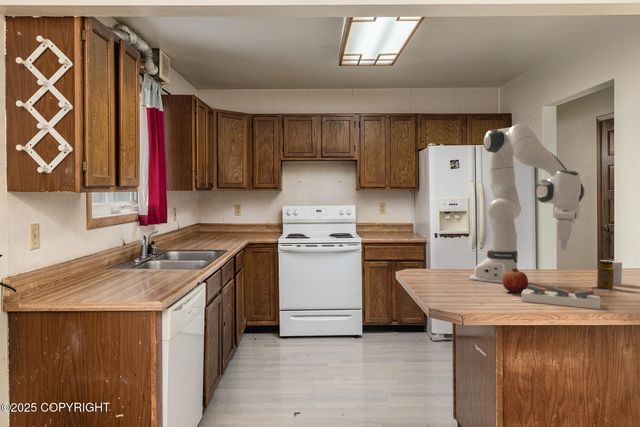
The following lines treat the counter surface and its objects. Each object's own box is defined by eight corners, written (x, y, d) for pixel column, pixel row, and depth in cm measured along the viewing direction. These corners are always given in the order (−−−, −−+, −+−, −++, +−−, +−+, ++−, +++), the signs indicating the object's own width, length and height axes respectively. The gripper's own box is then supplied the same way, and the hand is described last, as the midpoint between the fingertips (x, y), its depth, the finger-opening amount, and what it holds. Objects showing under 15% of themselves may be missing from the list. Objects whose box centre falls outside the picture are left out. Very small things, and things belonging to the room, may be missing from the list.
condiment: (617, 289, 207) (618, 261, 207) (607, 291, 203) (608, 263, 202) (599, 286, 213) (600, 259, 213) (589, 288, 209) (590, 261, 208)
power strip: (521, 301, 183) (521, 292, 182) (523, 296, 190) (523, 288, 190) (600, 308, 170) (600, 299, 170) (599, 303, 178) (599, 294, 178)
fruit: (528, 295, 192) (529, 271, 192) (502, 294, 196) (502, 269, 195) (527, 291, 202) (527, 267, 202) (501, 289, 206) (502, 266, 205)
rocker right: (575, 296, 175) (574, 292, 175) (575, 294, 179) (574, 290, 179) (594, 294, 172) (593, 290, 172) (593, 292, 176) (592, 288, 176)
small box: (598, 282, 223) (598, 260, 222) (609, 282, 223) (610, 259, 223) (609, 285, 215) (610, 262, 214) (621, 285, 215) (622, 262, 215)
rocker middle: (550, 290, 179) (551, 286, 179) (551, 288, 182) (552, 285, 182) (567, 296, 176) (569, 292, 176) (568, 294, 180) (569, 290, 180)
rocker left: (527, 288, 183) (528, 285, 183) (528, 287, 186) (529, 283, 186) (544, 293, 180) (545, 290, 180) (544, 291, 184) (545, 288, 183)
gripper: (557, 211, 191) (555, 246, 192) (555, 213, 173) (552, 251, 174) (575, 212, 188) (573, 247, 189) (574, 214, 170) (572, 253, 171)
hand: (563, 249), depth 181 cm, fingers closed
